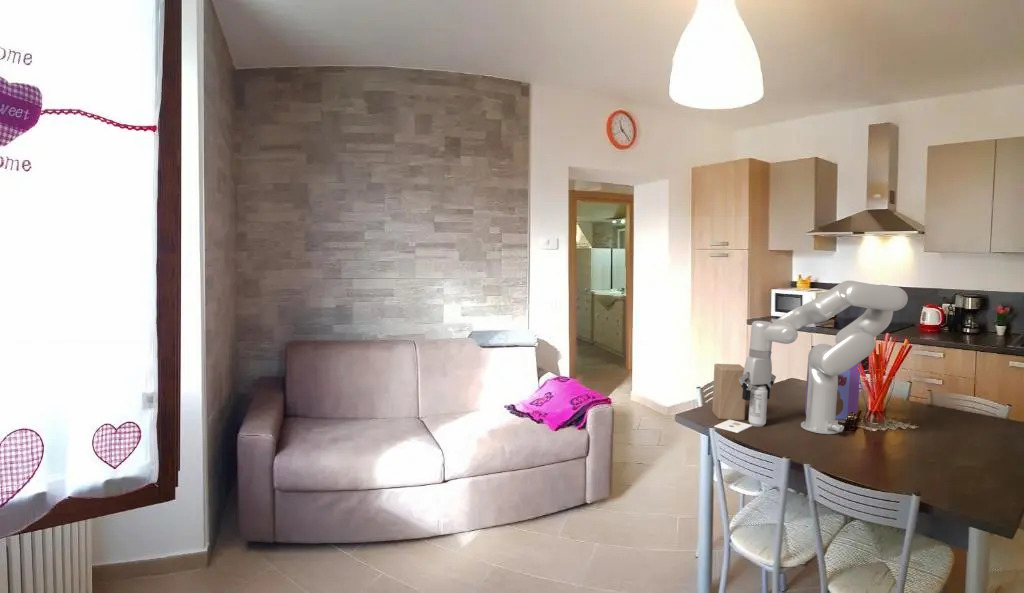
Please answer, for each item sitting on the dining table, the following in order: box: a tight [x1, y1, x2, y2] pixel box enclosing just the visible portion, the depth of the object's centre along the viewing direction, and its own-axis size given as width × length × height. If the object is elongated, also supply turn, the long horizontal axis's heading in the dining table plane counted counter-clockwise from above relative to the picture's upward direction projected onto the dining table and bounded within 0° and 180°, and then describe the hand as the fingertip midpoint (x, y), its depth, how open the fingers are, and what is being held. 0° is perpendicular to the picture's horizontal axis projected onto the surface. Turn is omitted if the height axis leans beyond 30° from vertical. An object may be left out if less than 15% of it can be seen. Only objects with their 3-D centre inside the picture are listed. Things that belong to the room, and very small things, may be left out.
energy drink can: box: [748, 385, 768, 427], centre depth 215 cm, size 6×6×15 cm
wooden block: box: [711, 363, 747, 421], centre depth 224 cm, size 10×10×20 cm
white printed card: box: [713, 419, 753, 434], centre depth 213 cm, size 9×12×1 cm
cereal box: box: [804, 361, 862, 421], centre depth 225 cm, size 17×5×24 cm, turn 76°
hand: (755, 398), depth 215 cm, fingers open, 9 cm apart
